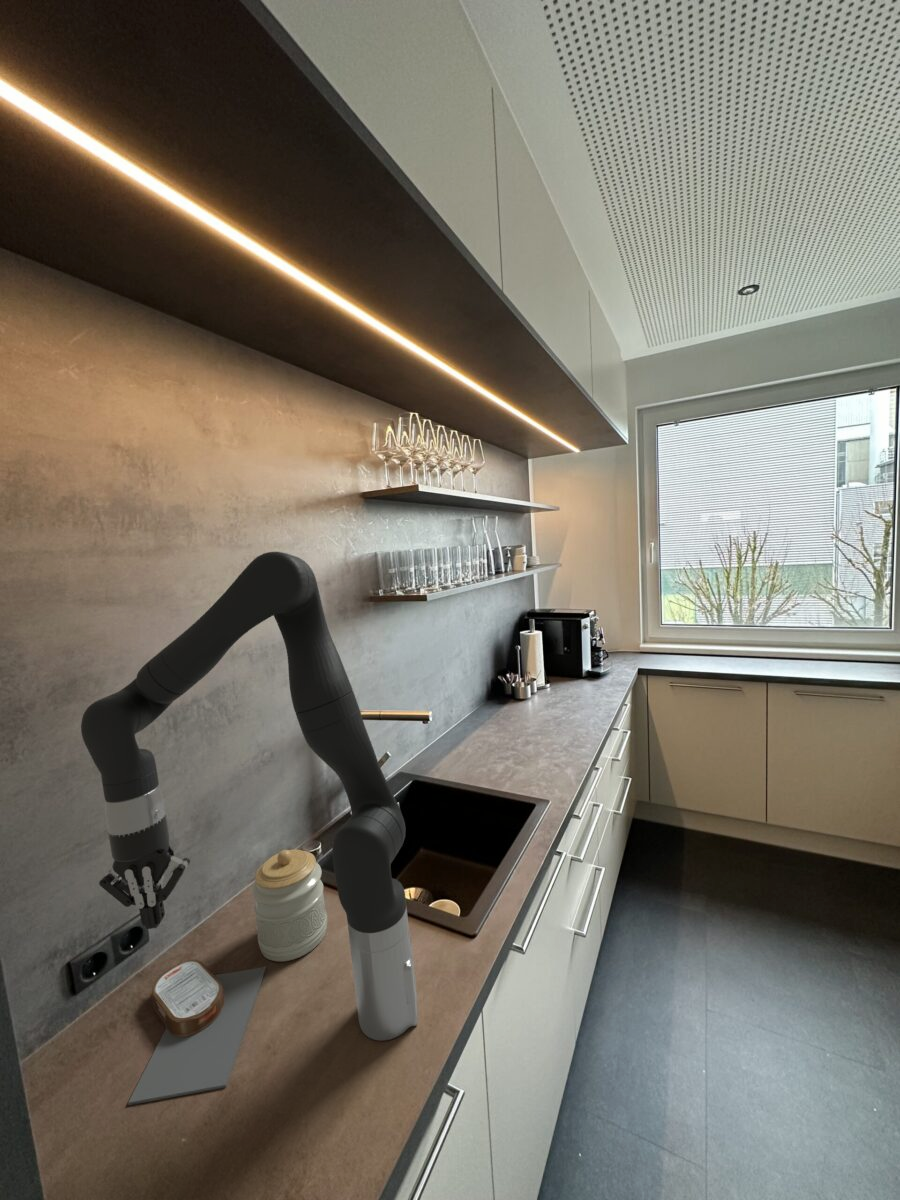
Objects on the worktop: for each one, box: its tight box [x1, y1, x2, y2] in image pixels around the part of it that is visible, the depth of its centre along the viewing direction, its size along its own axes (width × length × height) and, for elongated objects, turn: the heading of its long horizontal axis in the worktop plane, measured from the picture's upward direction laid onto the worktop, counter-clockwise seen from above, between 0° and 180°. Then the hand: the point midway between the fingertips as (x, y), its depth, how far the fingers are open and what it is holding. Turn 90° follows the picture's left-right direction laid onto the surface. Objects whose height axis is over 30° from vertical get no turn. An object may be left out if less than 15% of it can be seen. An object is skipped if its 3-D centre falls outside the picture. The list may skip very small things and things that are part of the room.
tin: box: [151, 959, 225, 1037], centre depth 81 cm, size 15×3×8 cm
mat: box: [127, 966, 267, 1106], centre depth 77 cm, size 13×20×1 cm, turn 6°
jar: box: [251, 849, 328, 962], centre depth 94 cm, size 13×13×18 cm
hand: (154, 924), depth 76 cm, fingers closed
